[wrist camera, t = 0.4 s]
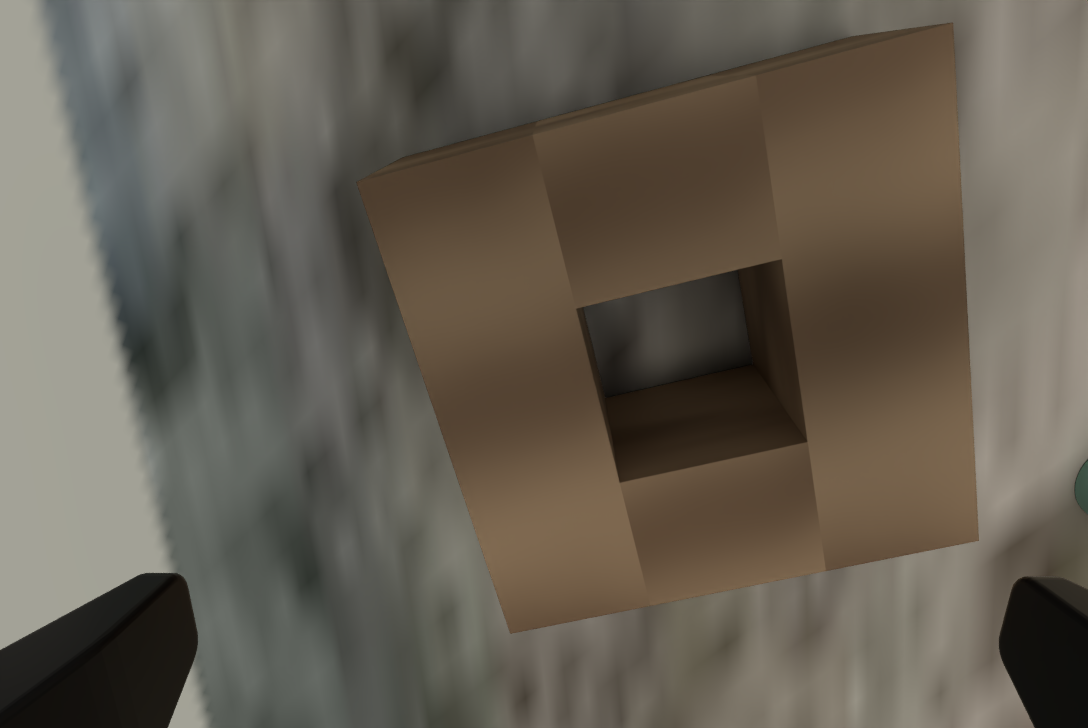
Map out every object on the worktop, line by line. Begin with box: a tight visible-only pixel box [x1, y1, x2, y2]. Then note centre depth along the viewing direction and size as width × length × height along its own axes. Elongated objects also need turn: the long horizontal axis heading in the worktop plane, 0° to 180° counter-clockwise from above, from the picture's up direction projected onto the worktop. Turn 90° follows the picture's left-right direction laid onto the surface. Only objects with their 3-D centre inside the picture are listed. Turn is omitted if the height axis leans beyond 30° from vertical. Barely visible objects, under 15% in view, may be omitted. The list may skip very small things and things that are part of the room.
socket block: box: [356, 23, 979, 634], centre depth 19 cm, size 12×12×5 cm
